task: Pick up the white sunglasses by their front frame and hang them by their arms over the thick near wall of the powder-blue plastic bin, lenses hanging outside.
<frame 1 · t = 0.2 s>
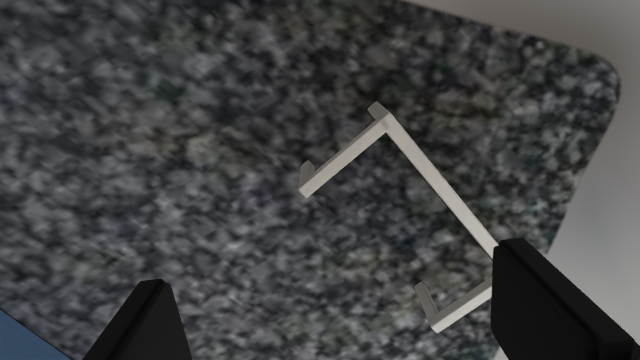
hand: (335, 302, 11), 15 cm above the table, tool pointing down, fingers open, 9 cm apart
white sunglasses: (397, 206, 26), on the table
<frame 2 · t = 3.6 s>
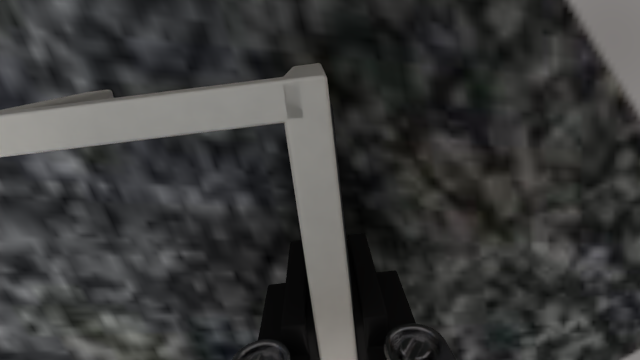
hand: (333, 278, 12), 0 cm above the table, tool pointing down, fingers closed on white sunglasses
white sunglasses: (241, 283, 12), on the table, touching gripper
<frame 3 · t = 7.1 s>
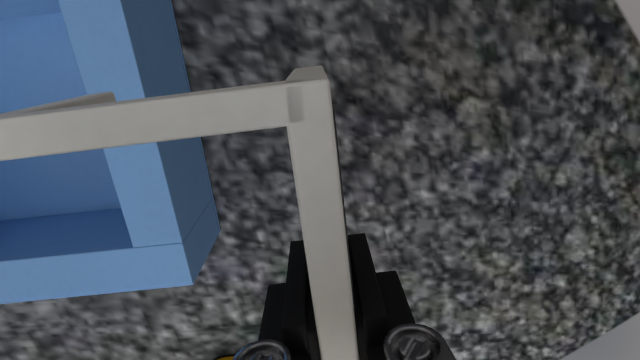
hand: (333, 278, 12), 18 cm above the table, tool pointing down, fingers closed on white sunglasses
white sunglasses: (242, 285, 13), point 17 cm above the table, touching gripper
bin: (58, 121, 28), on the table
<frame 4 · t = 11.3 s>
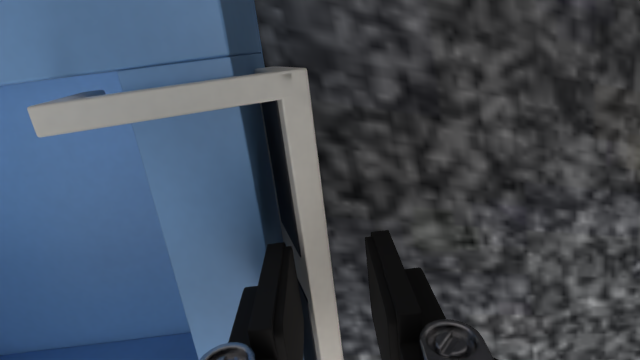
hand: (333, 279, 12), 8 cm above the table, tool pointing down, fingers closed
white sunglasses: (217, 248, 15), point 4 cm above the table, tilted 15°, touching bin
bin: (89, 222, 19), on the table
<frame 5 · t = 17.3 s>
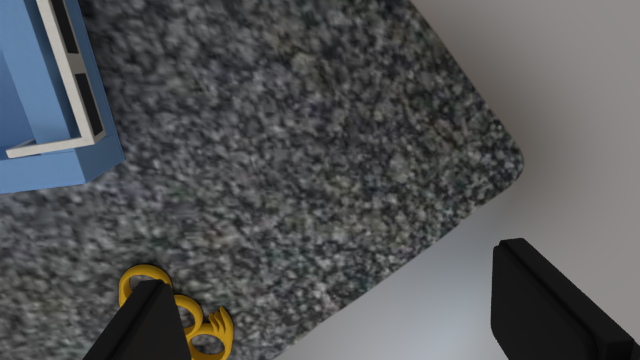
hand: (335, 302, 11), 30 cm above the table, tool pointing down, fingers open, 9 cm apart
yellow winged triple ring: (180, 311, 47), on the table
white sunglasses: (41, 68, 33), point 4 cm above the table, tilted 15°, touching bin
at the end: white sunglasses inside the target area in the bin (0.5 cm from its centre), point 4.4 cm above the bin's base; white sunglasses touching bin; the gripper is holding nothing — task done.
